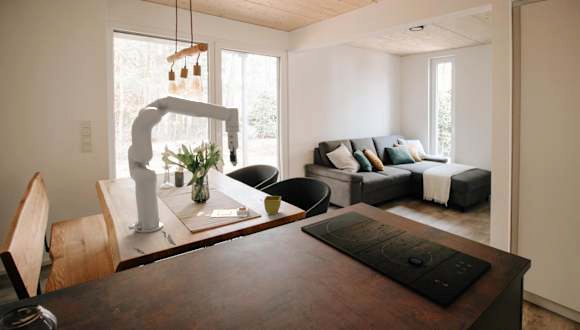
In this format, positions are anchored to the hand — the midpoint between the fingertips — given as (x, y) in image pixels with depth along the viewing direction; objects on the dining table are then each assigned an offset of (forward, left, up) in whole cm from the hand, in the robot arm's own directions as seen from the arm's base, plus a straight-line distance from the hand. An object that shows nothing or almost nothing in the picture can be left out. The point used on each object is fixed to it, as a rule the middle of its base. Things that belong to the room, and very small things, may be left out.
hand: (233, 160), depth 181 cm
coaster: (-17, +7, -29) cm, 35 cm away
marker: (0, -1, -3) cm, 3 cm away
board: (-8, -4, -29) cm, 31 cm away
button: (-4, -9, -28) cm, 30 cm away
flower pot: (+7, -23, -29) cm, 38 cm away
